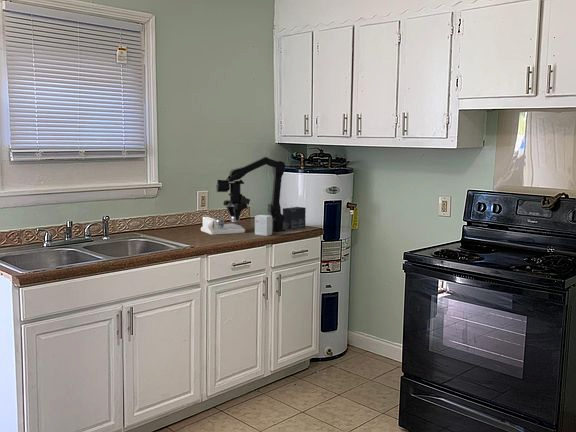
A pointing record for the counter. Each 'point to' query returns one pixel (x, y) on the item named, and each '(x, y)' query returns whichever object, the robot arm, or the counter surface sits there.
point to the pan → (229, 226)
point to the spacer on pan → (220, 222)
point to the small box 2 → (294, 217)
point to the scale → (212, 227)
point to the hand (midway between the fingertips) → (235, 219)
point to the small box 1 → (263, 225)
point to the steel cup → (234, 219)
